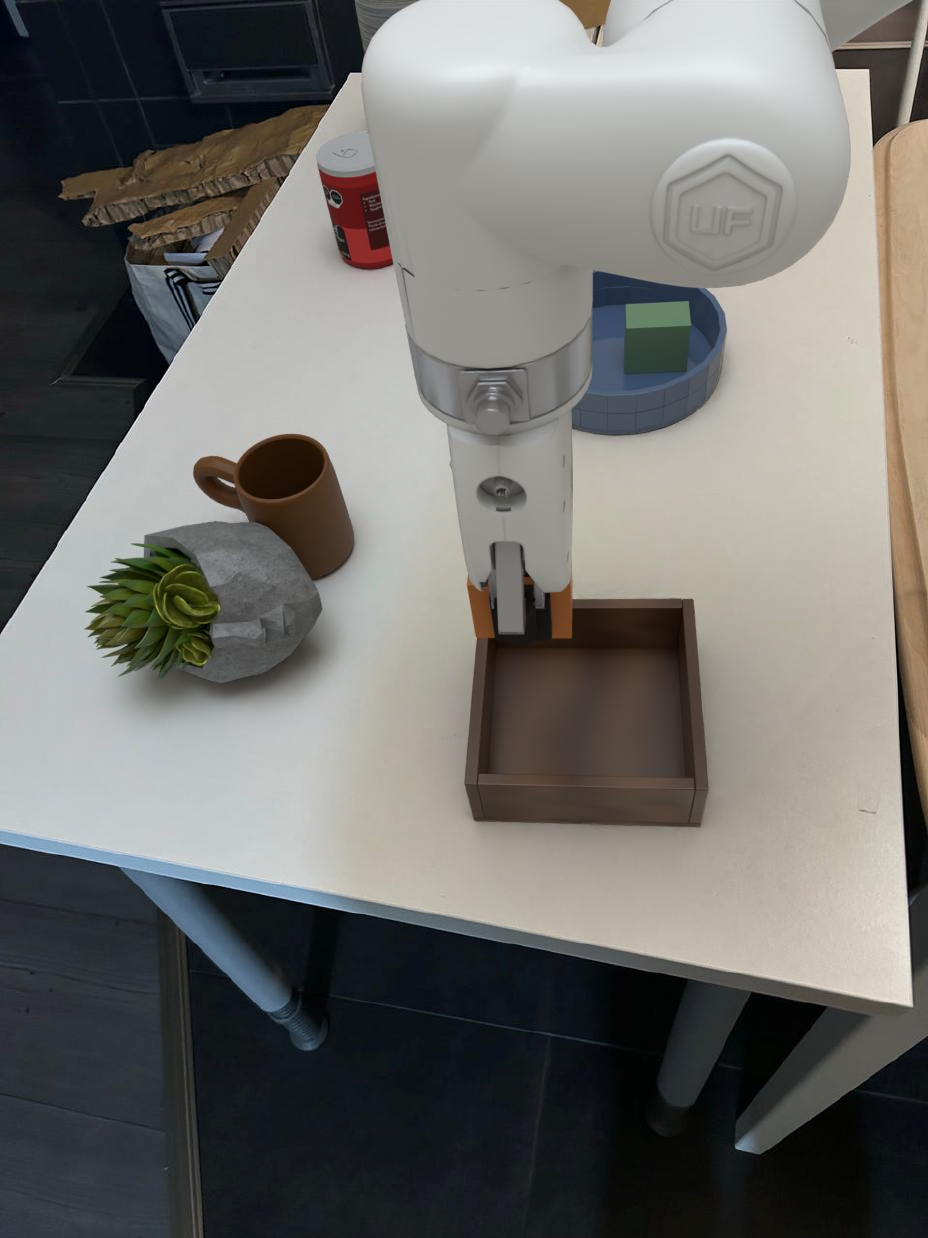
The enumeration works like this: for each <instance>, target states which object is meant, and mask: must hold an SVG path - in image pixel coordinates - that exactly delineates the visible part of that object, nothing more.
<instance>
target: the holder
mask: <svg viewBox="0 0 928 1238" xmlns="http://www.w3.org/2000/svg"><path fill="white" fill-rule="evenodd" d="M696 622H697V621H696V612H695V599H694V598H682V597H681V598H572V638H551V639H550V640H548V641H533V642H530V643H514V642H511V641H501V640H497V639H496V638H476V640H475V641H476V642H475V654H474V665H473V666H474V667H473V677H472V690H471V699H470V700H471V701H470V711H469V713H470V714H469V723H468V724H469V725H468V737H467V748H466V760H465V771H464V783H463V784H464V787H465V792H466V795H467V799H468V800H467V801H468V803H469V807H470V811H471V815H472V818H473V821H475V822H478V821H479V822H509V823H539V824H541V823H543V824H546V823H547V824H576V825H577V824H578V825H581V824H582V825H612V826H649V827H650V826H651V827H681V828H683V827H684V828H685V827H686V828H701V826H702V821H703V816H704V814H705V813H704V812H705V809H706V808H705V807H706V804H707V800H708V795H709V791H710V786H709V785H710V783H709V772H708V761H707V759H708V758H707V747H706V735H705V721H704V712H703V709H704V708H703V696H702V685H701V683H702V682H701V673H700V661H699V649H698V634H697V623H696Z"/></svg>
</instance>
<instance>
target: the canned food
mask: <svg viewBox="0 0 928 1238" xmlns="http://www.w3.org/2000/svg"><path fill="white" fill-rule="evenodd" d="M315 158H316V164H317V170H318V173H319V178H320V182H321V186H322V190H323V195H324V198H325V202H326V206H327V209H328V215H329V217H330V222H331V226H332V229H333V234H334V237H335V241H336V245H337V249H338V252H339V254H340V256H341V257H342V259H343V260H344V261H345V262H346V263H347V264H349V265H350V266H353V267H354V268H359V269H367V270H371V269H373V270H374V269H380V268H385V267H387V266H390V265H392V264H393V259H392V254H391V248H390V243H389V238H388V233H387V228H386V222H385V217H384V212H383V207H382V201H381V196H380V191H379V186H378V181H377V175H376V170H375V165H374V160H373V154H372V149H371V144H370V139H369V133H368V131H362V132H361V131H358V132H357V131H356V132H350V133H345V134H342V135H339V136H337V137H334V138H332V139H330V140H328V141H327V142H325V143H324V144H322V146H321V147H320V148H319V149H318V150H317V152H316V157H315ZM393 265H394V264H393Z"/></svg>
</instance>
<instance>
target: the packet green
mask: <svg viewBox="0 0 928 1238" xmlns="http://www.w3.org/2000/svg"><path fill="white" fill-rule="evenodd" d="M690 332H691V319H690V309H689V301H682V302H661V303H641V304H626V305H625V333H624V366H625V374H632V373H658V372H684V371H687V362H688V352H689V342H690Z"/></svg>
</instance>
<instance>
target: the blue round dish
mask: <svg viewBox="0 0 928 1238" xmlns="http://www.w3.org/2000/svg"><path fill="white" fill-rule="evenodd" d="M682 301H689V309H690V319H691V332H690V342H689V352H688V362H687V371H684V372H658V373H632V374H625V366H624V333H625V305H626V304H641V303H661V302H682ZM727 333H728V326H727V318H726V312H725V311H724V309H723V307H722V306H721V303H720V302H719V301H718V299H717V297H716V296H715V295H714V294H713V293H712V292H711V291H709V290H708V288H693V287H682V286H674V285H667V284H660V283H655V282H650V281H645V280H640V279H635V278H630V277H625V276H620V275H616V274H610V273H605V272H600V271H595V270H593V302H592V378H591V381H590V384H589V387H588V389H587V391H586V392H585V394H584V396H583V397H582V399H581V400H580V401H579V402H578V403H577V404H576V405H575V406H574V407H573V408H572V409H571V413H572V429H574V430H578V431H581V432H584V433H585V432H586V433H591V434H597V435H608V436H614V435H615V436H626V435H627V436H628V435H636V434H637V435H638V434H642V433H643V434H644V433H649V432H652V431H656V430H659V429H664V428H665V427H668V426H671V425H674V424H676V423H678V422H680V421H682V420H683V419H685V418H687V417H689V416H691V415H692V414H694V413H695V412H696V411H697V410H699V408H701V407H702V406H703V405H704V404H706V402H707V400H709V399H710V397H712V394H713V393H714V391H715V389H716V388H717V385H718V383H719V380H720V376H721V372H722V368H723V362H724V355H725V349H726V348H725V347H726V341H727V335H728V334H727Z"/></svg>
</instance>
